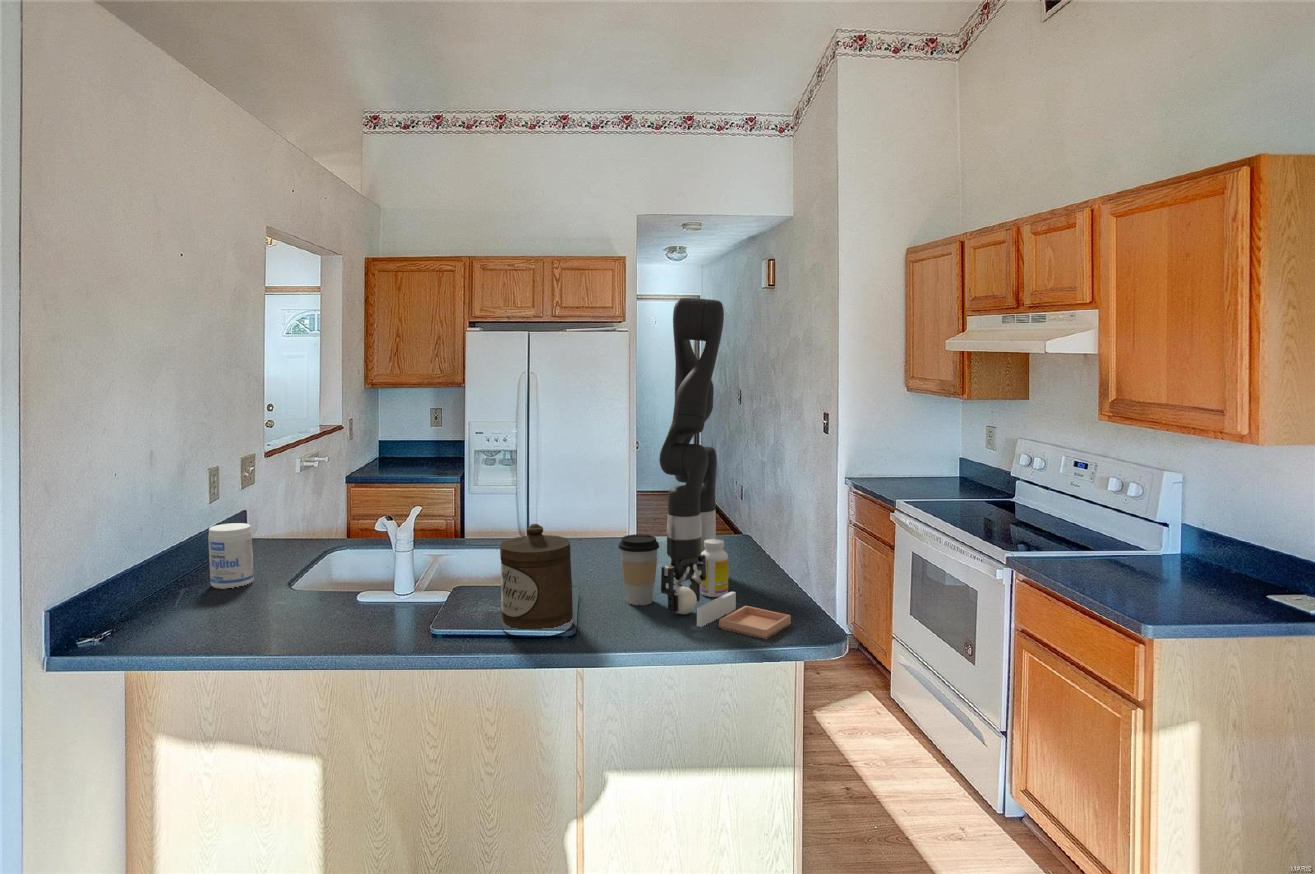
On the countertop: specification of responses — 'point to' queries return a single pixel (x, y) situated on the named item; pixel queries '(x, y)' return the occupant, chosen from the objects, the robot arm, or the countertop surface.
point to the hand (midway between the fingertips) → (684, 606)
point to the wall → (716, 608)
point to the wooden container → (536, 580)
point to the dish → (755, 622)
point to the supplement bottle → (715, 569)
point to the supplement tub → (230, 555)
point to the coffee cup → (639, 567)
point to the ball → (686, 600)
